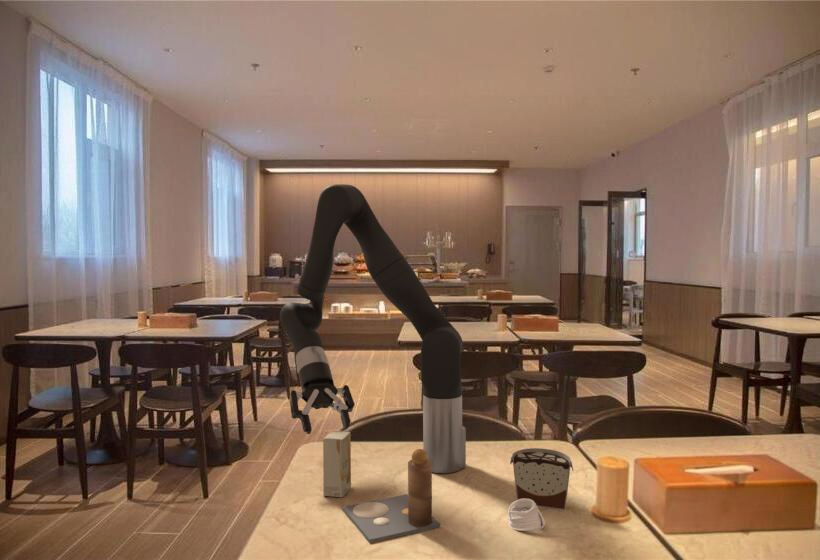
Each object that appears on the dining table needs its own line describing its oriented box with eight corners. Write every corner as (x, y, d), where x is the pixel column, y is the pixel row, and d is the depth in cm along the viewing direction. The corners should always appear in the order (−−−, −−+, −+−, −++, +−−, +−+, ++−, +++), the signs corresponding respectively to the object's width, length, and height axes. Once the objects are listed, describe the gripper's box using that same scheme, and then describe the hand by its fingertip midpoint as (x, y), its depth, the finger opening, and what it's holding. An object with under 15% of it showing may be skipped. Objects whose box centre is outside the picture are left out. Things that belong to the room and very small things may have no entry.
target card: (406, 496, 120) (406, 493, 120) (440, 526, 106) (440, 523, 106) (342, 509, 114) (342, 506, 114) (369, 543, 100) (369, 539, 100)
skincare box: (342, 498, 119) (342, 439, 119) (322, 496, 120) (322, 438, 120) (352, 486, 125) (351, 430, 125) (332, 485, 126) (332, 429, 126)
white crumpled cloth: (550, 538, 104) (554, 512, 103) (515, 538, 102) (518, 512, 102) (534, 516, 111) (537, 492, 111) (500, 515, 110) (503, 491, 110)
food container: (575, 499, 118) (575, 450, 118) (573, 511, 112) (573, 460, 112) (514, 491, 122) (514, 444, 122) (509, 503, 116) (509, 454, 116)
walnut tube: (425, 514, 110) (425, 444, 110) (436, 523, 106) (435, 451, 106) (404, 518, 108) (404, 447, 108) (414, 528, 104) (414, 454, 104)
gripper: (286, 362, 132) (299, 425, 122) (345, 358, 138) (362, 417, 128) (281, 381, 137) (293, 442, 127) (339, 376, 143) (354, 434, 133)
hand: (328, 429), depth 128 cm, fingers open, 8 cm apart
